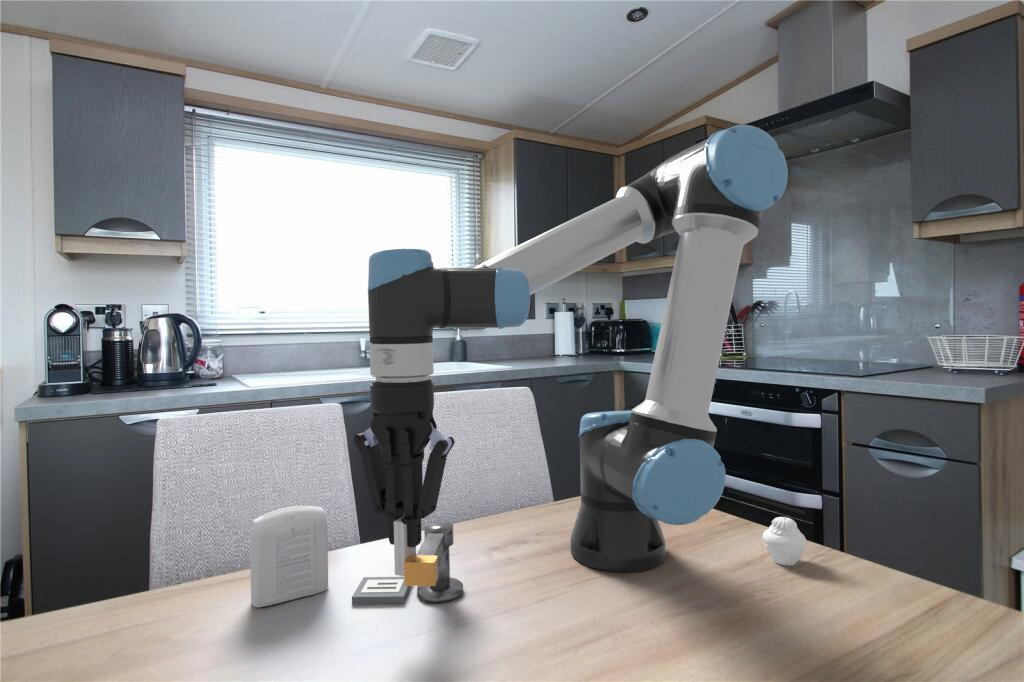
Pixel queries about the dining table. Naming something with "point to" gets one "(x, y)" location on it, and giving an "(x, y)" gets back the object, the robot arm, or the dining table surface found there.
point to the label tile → (381, 591)
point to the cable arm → (428, 555)
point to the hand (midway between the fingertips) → (405, 570)
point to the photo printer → (288, 555)
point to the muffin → (784, 541)
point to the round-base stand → (442, 584)
